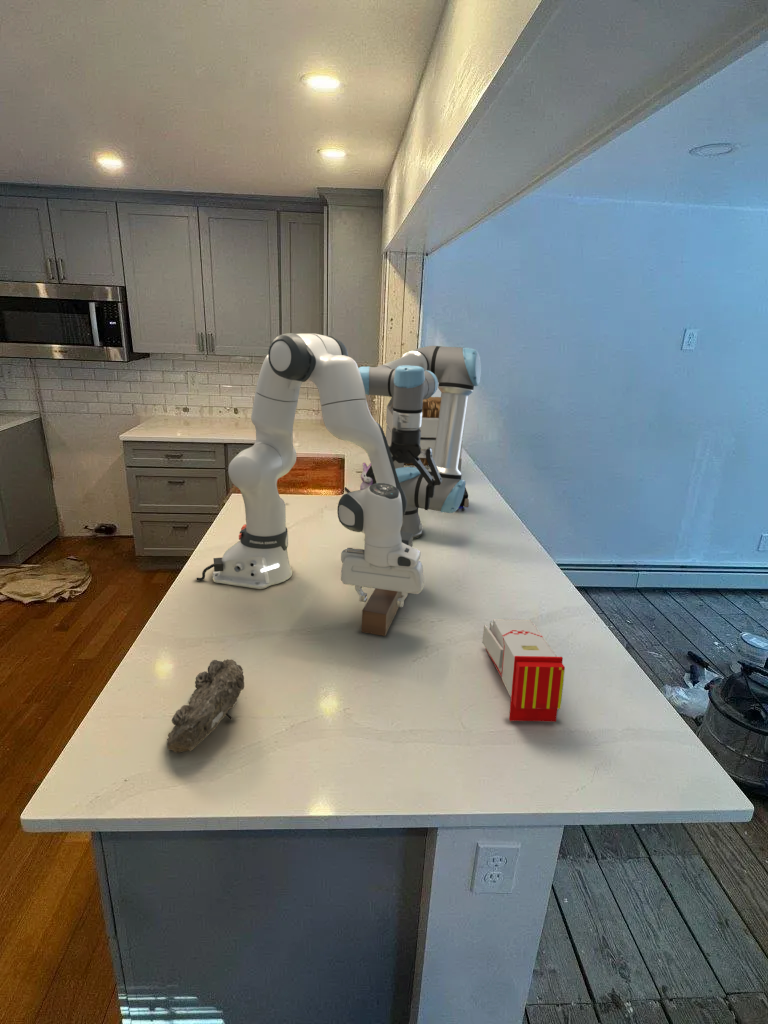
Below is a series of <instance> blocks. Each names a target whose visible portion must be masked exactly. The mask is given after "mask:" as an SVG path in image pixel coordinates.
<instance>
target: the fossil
mask: <svg viewBox="0 0 768 1024" xmlns="http://www.w3.org/2000/svg"><path fill="white" fill-rule="evenodd" d="M243 670H244V669H243V667H242V665H240V664H237V662H236V661H235V660H234V659H232V658H231V659H227V658H226V659H224V660H223V661H222V660H217V659H212V660H211V661H210V663H209V665H208V666H207V671H201V672H199V673H198V674H197V675H196V676H195V680H194V684H195V685H194V687H195V689H194V690H193V693H192V694H191V697H190V698H189V700H188V704H184V705H182V706H181V707H180V709H177V710H176V711H175V713H174V715H173V716H172V718H171V723H172V724H173V727H172V730H171V731H170V732H168V734H167V738H166V741H167V742H166V745H167V749H168V750H169V751H173V752H174V753H176V754H178V753H182V752H188V751H189V752H192V751H193V750H195V748H196V747H197V746H199V744H200V743H201V742H203V741H204V740H205V739H206V738H207V737H208V736H209V735H210V734H211V733H212V732H214V730H215V729H217V727H218V726H219V724H220V722H221V721H222V720H223V719H224V718H225V716H226V717H227V719H229V720H233V717H232V715H230V714H229V710H230V709H231V708H234V706H235V704H236V703H237V702H238V699H239V697H240V695H241V693H242V691H243V690H245V689H244V688H245V675H244V671H243Z"/></svg>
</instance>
